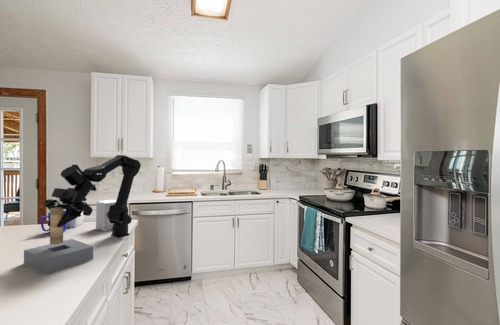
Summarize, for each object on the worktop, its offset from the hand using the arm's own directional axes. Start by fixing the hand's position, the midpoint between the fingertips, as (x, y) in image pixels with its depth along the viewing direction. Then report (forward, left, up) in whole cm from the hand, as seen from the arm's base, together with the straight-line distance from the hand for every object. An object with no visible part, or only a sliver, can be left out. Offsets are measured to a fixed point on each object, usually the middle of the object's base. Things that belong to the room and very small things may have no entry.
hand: (53, 226), depth 97 cm
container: (-30, -48, -14) cm, 58 cm away
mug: (-18, -41, -14) cm, 47 cm away
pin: (-1, 0, -7) cm, 7 cm away
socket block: (-2, +1, -13) cm, 14 cm away
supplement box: (-38, -27, -14) cm, 48 cm away
